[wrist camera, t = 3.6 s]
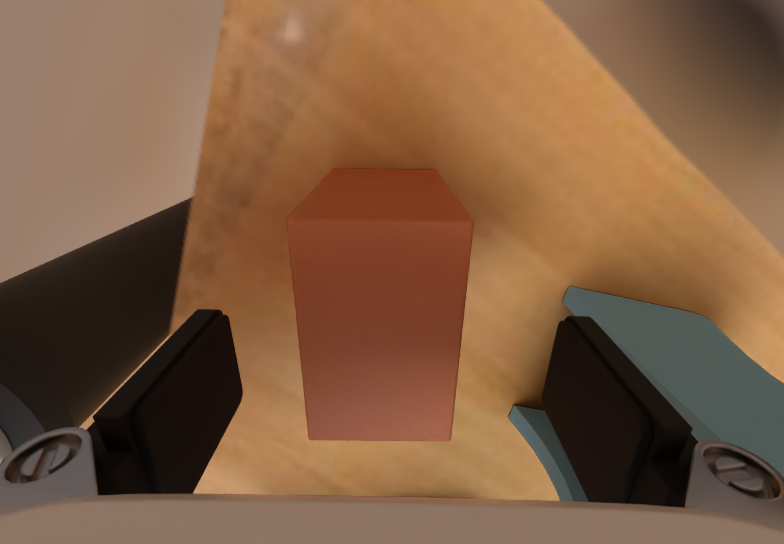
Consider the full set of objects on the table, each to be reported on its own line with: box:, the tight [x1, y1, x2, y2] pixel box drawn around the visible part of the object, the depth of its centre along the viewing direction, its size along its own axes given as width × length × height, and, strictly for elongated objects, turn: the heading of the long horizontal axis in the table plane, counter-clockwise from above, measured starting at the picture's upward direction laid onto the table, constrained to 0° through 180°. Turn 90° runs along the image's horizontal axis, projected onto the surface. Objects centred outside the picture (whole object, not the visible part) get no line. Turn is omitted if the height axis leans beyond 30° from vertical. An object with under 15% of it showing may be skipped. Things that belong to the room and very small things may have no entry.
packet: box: [286, 168, 474, 441], centre depth 16 cm, size 5×8×9 cm, turn 179°
